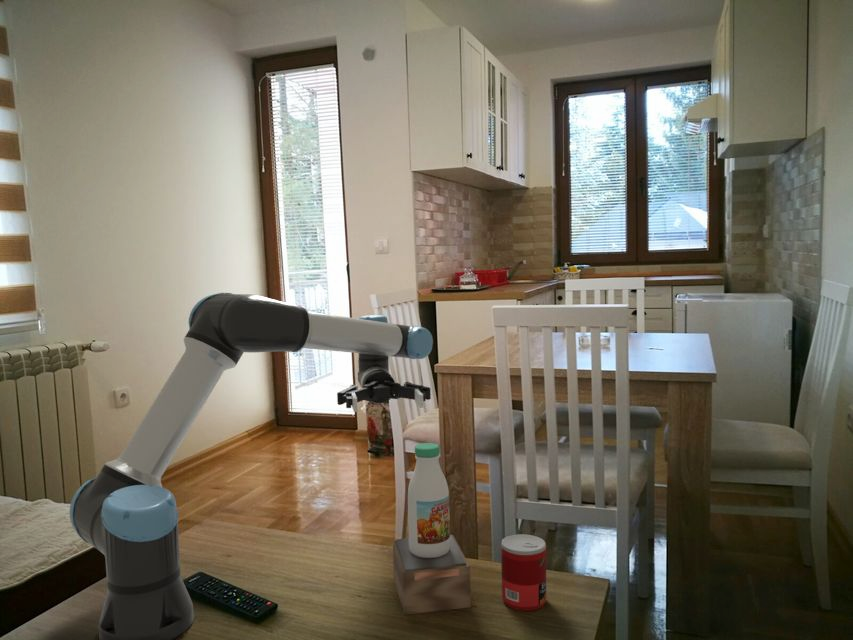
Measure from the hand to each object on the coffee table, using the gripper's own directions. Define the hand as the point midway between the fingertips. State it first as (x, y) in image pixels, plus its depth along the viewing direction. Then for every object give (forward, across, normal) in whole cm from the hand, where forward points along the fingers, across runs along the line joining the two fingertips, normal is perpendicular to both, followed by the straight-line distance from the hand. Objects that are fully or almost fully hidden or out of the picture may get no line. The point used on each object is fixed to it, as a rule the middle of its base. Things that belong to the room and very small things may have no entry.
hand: (388, 403), depth 137 cm
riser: (+16, -5, -33) cm, 37 cm away
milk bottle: (+16, -5, -25) cm, 30 cm away
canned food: (+23, -21, -33) cm, 45 cm away
